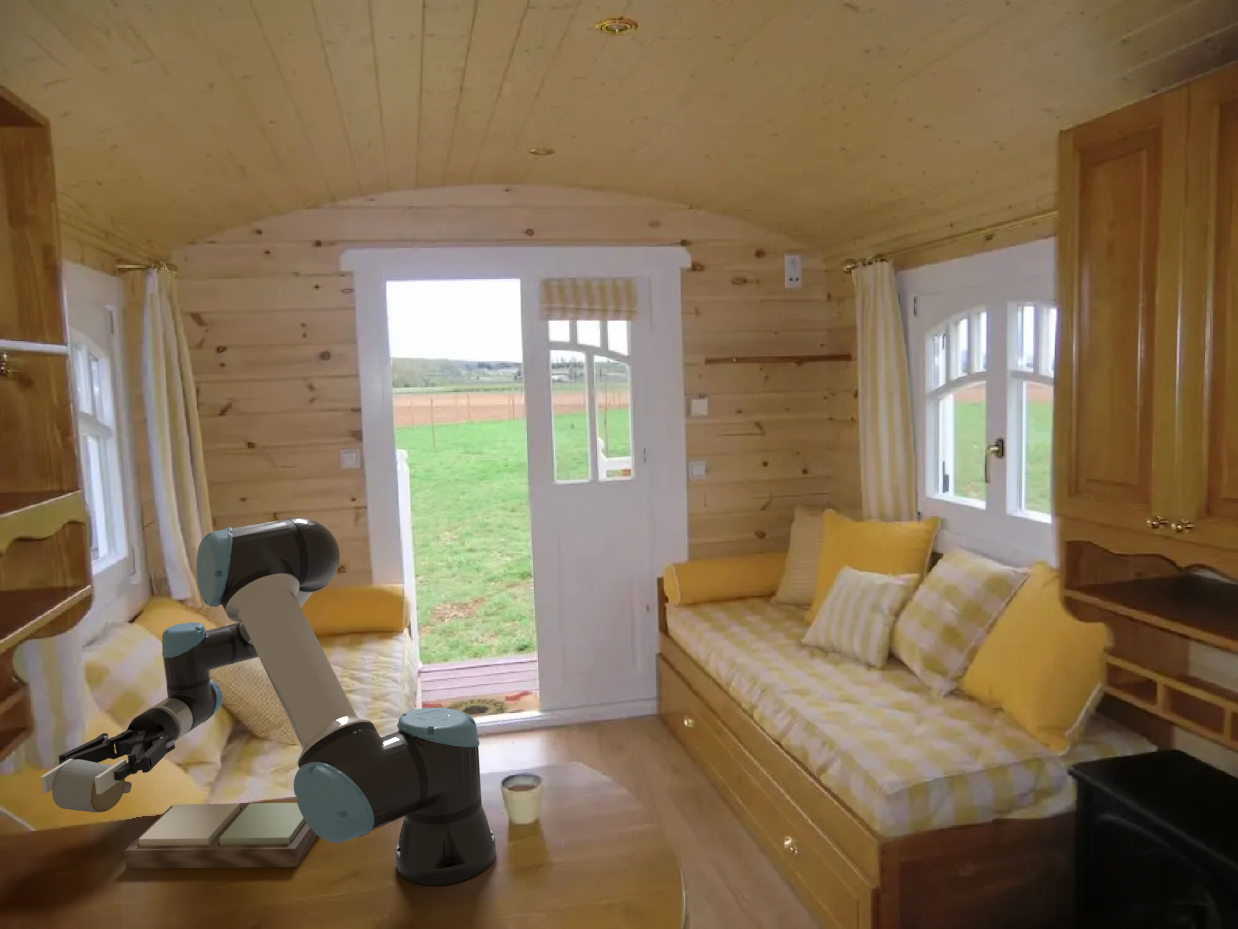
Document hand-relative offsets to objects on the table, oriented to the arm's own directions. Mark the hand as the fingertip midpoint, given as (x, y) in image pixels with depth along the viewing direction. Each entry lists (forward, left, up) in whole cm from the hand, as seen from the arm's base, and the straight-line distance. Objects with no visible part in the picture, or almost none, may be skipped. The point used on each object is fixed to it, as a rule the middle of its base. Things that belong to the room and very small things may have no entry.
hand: (70, 785), depth 146 cm
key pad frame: (-18, -14, -13) cm, 26 cm away
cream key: (-12, -11, -11) cm, 20 cm away
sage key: (-24, -17, -11) cm, 31 cm away
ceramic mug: (+2, -5, -6) cm, 8 cm away
